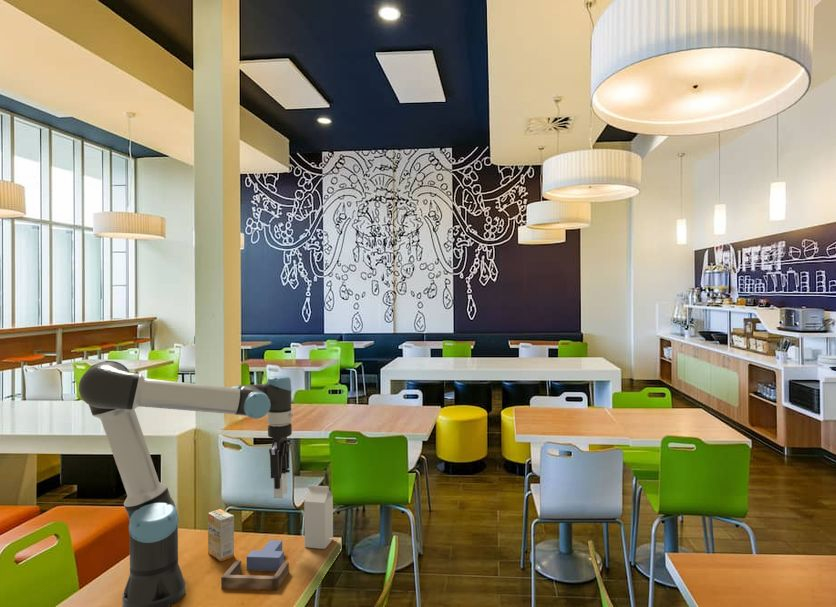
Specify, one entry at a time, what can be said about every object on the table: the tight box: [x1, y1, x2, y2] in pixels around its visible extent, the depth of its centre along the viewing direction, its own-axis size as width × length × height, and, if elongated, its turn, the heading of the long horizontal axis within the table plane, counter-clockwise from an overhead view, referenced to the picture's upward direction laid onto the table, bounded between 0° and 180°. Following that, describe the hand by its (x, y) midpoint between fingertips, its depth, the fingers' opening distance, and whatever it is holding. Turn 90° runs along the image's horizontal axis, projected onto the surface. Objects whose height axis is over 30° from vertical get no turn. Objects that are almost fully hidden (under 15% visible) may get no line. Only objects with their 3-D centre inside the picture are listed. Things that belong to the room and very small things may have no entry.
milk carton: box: [303, 484, 334, 550], centre depth 169 cm, size 7×7×19 cm
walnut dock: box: [220, 560, 290, 591], centre depth 147 cm, size 16×10×3 cm, turn 85°
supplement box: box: [207, 508, 235, 562], centre depth 162 cm, size 8×5×13 cm, turn 49°
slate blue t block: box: [246, 539, 285, 572], centre depth 157 cm, size 11×10×4 cm
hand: (280, 495), depth 167 cm, fingers open, 3 cm apart
